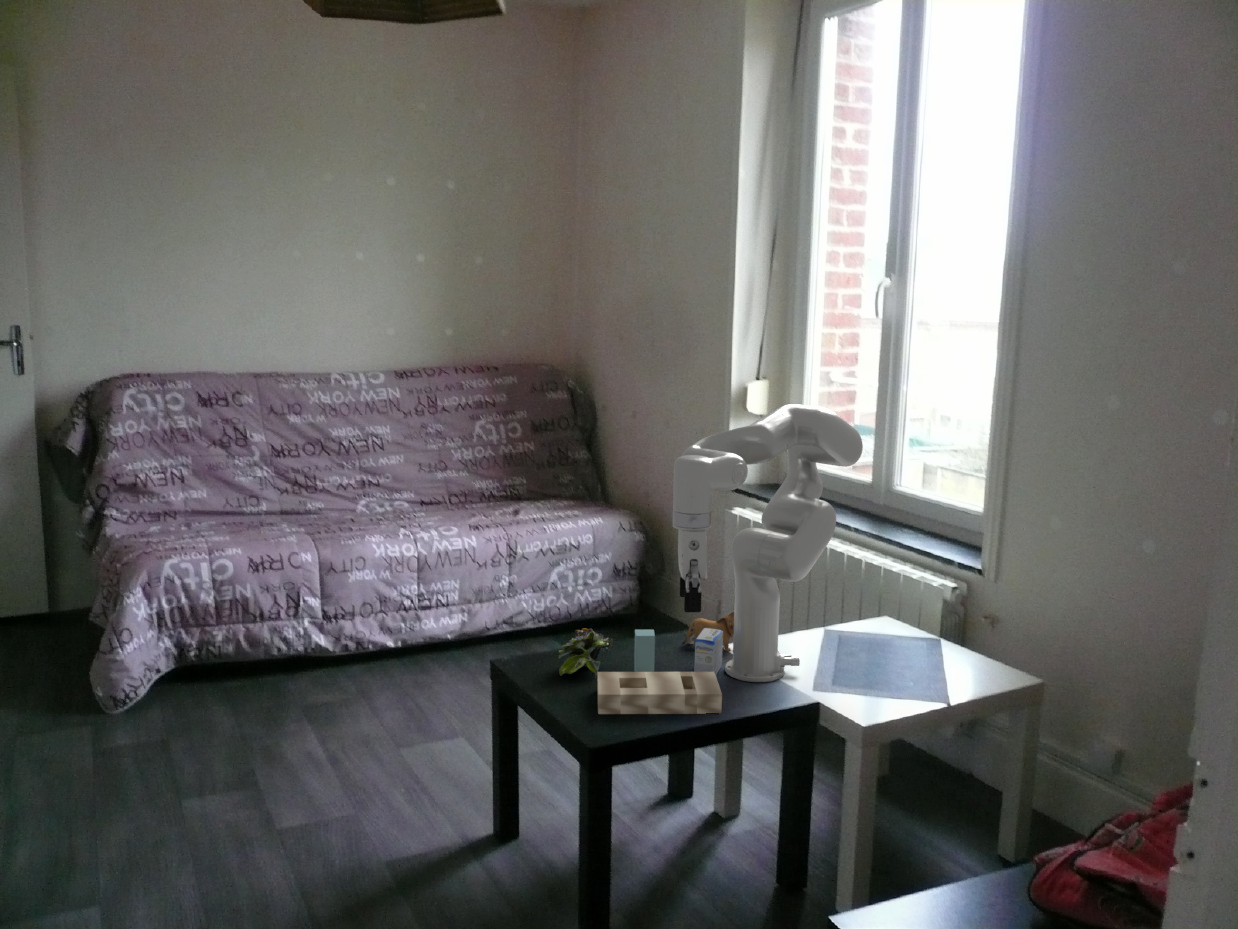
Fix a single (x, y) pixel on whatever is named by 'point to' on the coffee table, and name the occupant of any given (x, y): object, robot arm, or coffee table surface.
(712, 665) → the medicine box
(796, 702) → the coffee table surface
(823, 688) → the coffee table surface
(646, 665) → the square peg
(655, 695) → the bore board
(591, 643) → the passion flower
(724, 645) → the lion figurine
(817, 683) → the coffee table surface
